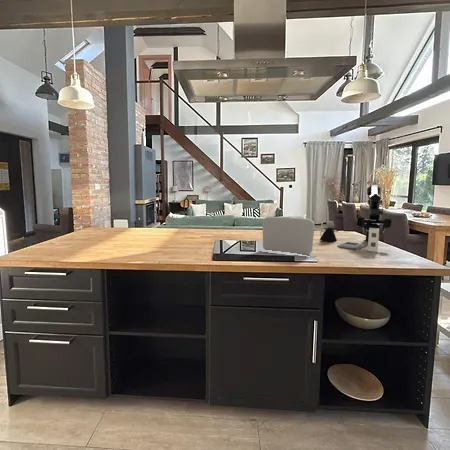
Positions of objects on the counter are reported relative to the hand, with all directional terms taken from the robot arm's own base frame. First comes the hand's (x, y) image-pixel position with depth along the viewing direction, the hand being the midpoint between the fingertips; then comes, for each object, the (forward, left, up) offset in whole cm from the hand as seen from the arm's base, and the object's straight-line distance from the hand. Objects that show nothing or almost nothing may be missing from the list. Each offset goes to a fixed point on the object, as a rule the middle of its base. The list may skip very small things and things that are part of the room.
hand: (373, 232), depth 191 cm
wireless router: (+52, -17, -10) cm, 56 cm away
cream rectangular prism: (+2, +1, -10) cm, 10 cm away
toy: (+2, -31, -10) cm, 33 cm away
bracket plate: (+3, -12, -10) cm, 16 cm away
